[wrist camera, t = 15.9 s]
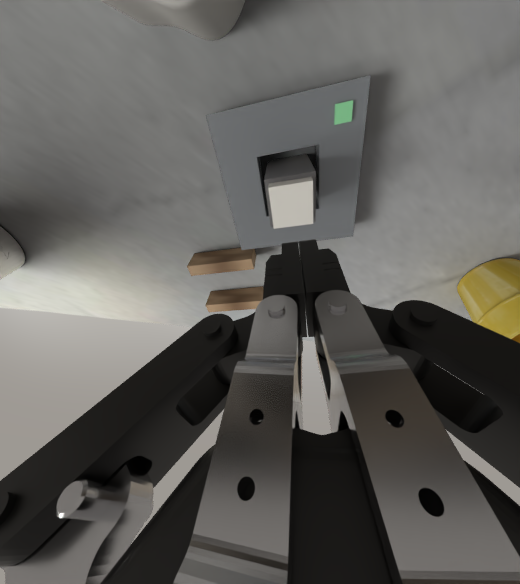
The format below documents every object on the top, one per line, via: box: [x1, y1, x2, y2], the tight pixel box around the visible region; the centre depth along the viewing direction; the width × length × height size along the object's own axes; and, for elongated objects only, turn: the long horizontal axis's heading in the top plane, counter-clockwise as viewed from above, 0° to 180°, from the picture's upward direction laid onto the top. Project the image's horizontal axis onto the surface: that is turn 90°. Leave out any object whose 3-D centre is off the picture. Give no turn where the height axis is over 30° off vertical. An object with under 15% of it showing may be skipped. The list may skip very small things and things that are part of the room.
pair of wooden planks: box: [187, 248, 264, 312], centre depth 29 cm, size 8×8×3 cm
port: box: [206, 75, 371, 250], centre depth 20 cm, size 12×12×3 cm
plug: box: [264, 154, 316, 229], centre depth 18 cm, size 4×4×8 cm
